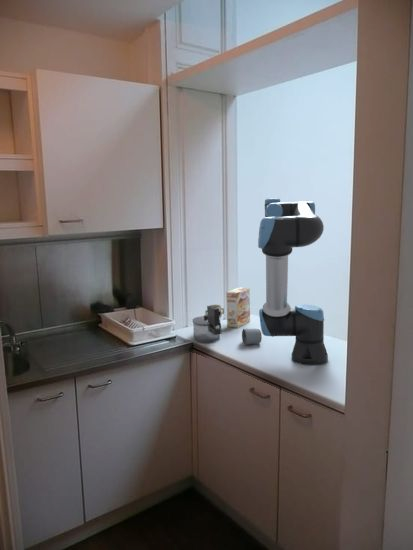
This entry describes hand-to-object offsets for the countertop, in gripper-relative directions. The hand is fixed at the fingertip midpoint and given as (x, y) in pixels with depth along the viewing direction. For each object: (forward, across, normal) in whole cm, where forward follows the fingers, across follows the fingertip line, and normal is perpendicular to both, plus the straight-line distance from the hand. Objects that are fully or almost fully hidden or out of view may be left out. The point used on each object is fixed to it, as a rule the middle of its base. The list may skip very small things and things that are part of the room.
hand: (273, 278), depth 222 cm
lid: (+20, +11, +31) cm, 39 cm away
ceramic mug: (+30, -3, +15) cm, 34 cm away
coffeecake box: (+30, +30, +4) cm, 42 cm away
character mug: (+30, +27, +20) cm, 45 cm away
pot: (+29, +12, +31) cm, 44 cm away
